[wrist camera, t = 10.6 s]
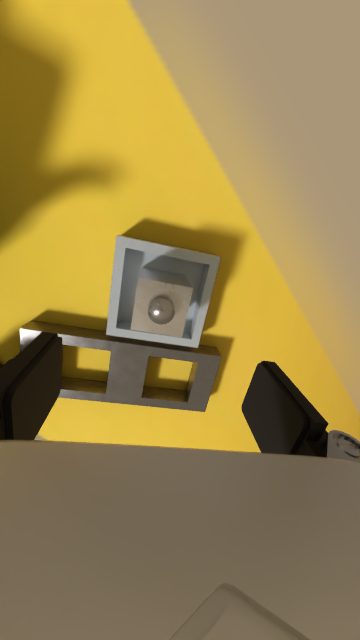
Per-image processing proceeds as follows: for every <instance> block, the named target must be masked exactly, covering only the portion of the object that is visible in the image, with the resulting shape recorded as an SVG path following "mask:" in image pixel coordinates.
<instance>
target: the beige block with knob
mask: <svg viewBox="0 0 360 640" xmlns="http://www.w3.org/2000/svg"><path fill="white" fill-rule="evenodd" d="M192 292H193V287H192V285H191V284H190V282H189V280H188V279H187V277H186V276H185V275H183V274H178V273H173V272H168V271H163V270H158V269H153V268H148V267H142V270H141V272H140V275H139V277H138V282H137V289H136V296H135V302H134V309H133V316H132V323H131V329H130V330H136V331H143V332H149V333H156V334H162V335H169V336H175V337H182V335H183V331H184V326H185V322H186V318H187V314H188V309H189V305H190V301H191V296H192Z"/></svg>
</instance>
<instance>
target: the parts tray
mask: <svg viewBox="0 0 360 640" xmlns="http://www.w3.org/2000/svg"><path fill="white" fill-rule="evenodd" d="M220 259H221V257H219V256H216V255H213V254H208V253H203V252H199V251H194V250H189V249H184V248H180V247H175V246H170V245H165V244H161V243H156V242H151V241H147V240H142V239H137V238H132V237H128V236H123V235H117V236H116V245H115V255H114V264H113V274H112V283H111V293H110V302H109V312H108V321H107V331H106V335H111V336H118V337H125V338H132V339H139V340H146V341H153V342H160V343H167V344H174V345H181V346H188V347H195V348H198V345H199V341H200V337H201V333H202V329H203V326H204V322H205V318H206V314H207V310H208V306H209V302H210V298H211V294H212V290H213V287H214V283H215V279H216V275H217V271H218V267H219V263H220ZM142 267H148V268H153V269H158V270H163V271H168V272H173V273H178V274H183V275H185V276H186V277H187V279H188V280H189V282H190V284H191V285H192V287H193V292H192V296H191V301H190V305H189V309H188V314H187V318H186V322H185V326H184V331H183V335H182V337H175V336H169V335H162V334H156V333H149V332H143V331H136V330H130V329H131V323H132V316H133V309H134V302H135V296H136V289H137V282H138V277H139V275H140V272H141V270H142Z"/></svg>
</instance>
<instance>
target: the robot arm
mask: <svg viewBox="0 0 360 640" xmlns="http://www.w3.org/2000/svg"><path fill="white" fill-rule="evenodd" d="M61 374H62V337H58V334H57V333H51V332H44V331H43V332H41V333H40V334H39V335H38V336H37V337H36V338H35V339H34V340H33V341H32V342H31V343H30V344H29V345H27V346H26V347H25V348H24V349H23V350H22V351H21V352H20V353H19V354H18V355H17V356H16V357H15V358H14V359H11V360H9V361H8V362H7V363H6V364H5V365H4V366H3V367H1V368H0V640H360V442H359V441H358V440H357V439H355V438H354V437H352V436H350V435H349V434H346V433H344V432H341V431H337V430H332V431H330V432H329V433H328V432H327V431H326V430H325V429H326V427H327V425H328V423H327V421H326V420H325V419H324V418H323V417H322V416H321V415H320V413H319V412H318V411H317V410H316V409H315V408H314V407H313V405H312V404H311V403H310V402H309V401H308V400H307V399H306V397H305V396H304V395H303V394H302V393H301V392H300V391H299V389H298V388H297V387H296V386H295V385H294V384H293V383H292V381H291V380H290V379H289V378H288V377H287V376H286V374H285V373H284V372H283V371H282V370H281V369H280V368H279V366H278V365H277V364H276V363H275V362H269V361H262V362H261V363H259V364H258V365H257V367H256V370H255V372H254V375H253V377H252V380H251V383H250V385H249V388H248V391H247V393H246V396H245V398H244V401H243V404H242V412H243V414H244V417H245V419H246V421H247V423H248V425H249V427H250V429H251V432H252V434H253V436H254V438H255V440H256V442H257V444H258V446H259V449H260V451H261V453H258V452H242V451H227V450H210V449H194V448H177V447H160V446H141V445H123V444H104V443H85V442H67V441H46V440H34V439H35V437H36V435H37V434H38V432H39V430H40V428H41V426H42V425H43V423H44V421H45V419H46V418H47V416H48V414H49V412H50V410H51V409H52V407H53V405H54V403H55V402H56V400H57V398H58V396H59V394H60V391H61Z"/></svg>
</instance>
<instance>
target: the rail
mask: <svg viewBox="0 0 360 640" xmlns="http://www.w3.org/2000/svg"><path fill="white" fill-rule="evenodd" d="M43 331H44V332H51V333H57V334H58V337H62V357H63V345H70V346H78V347H85V348H93V349H100V350H108V351H111V356H110V364H109V373H108V381H107V382H102V381H93V380H84V379H76V378H67V377H62V374H61V391H60V394H59V396H58V397H60V398H70V399H80V400H91V401H101V402H111V403H121V404H131V405H141V406H151V407H161V408H171V409H181V410H191V411H201V412H205V410H206V407H207V404H208V400H209V397H210V394H211V390H212V387H213V384H214V380H215V377H216V374H217V370H218V367H219V364H220V360H221V355H220V353H219V351H218V349H217V348H216V347H209V346H202V345H198V348H195V347H188V346H181V345H174V344H167V343H160V342H153V341H146V340H139V339H132V338H125V337H118V336H111V335H106V331H99V330H92V329H85V328H79V327H72V326H65V325H58V324H51V323H44V322H37V321H30V322H28V323H27V324H25V325H24V326H23V327H21V328H20V351H22V350H23V349H24V348H25V347H26V346H27V345H29V344H30V343H31V342H32V341H33V340H34V339H35V338H36V337H37V336H38V335H39V334H40V333H41V332H43ZM149 356H153V357H160V358H168V359H175V360H183V361H190V362H193V364H192V368H191V372H190V376H189V380H188V384H187V388H186V391H182V390H173V389H164V388H155V387H146V386H144V380H145V374H146V369H147V363H148V358H149Z"/></svg>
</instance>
